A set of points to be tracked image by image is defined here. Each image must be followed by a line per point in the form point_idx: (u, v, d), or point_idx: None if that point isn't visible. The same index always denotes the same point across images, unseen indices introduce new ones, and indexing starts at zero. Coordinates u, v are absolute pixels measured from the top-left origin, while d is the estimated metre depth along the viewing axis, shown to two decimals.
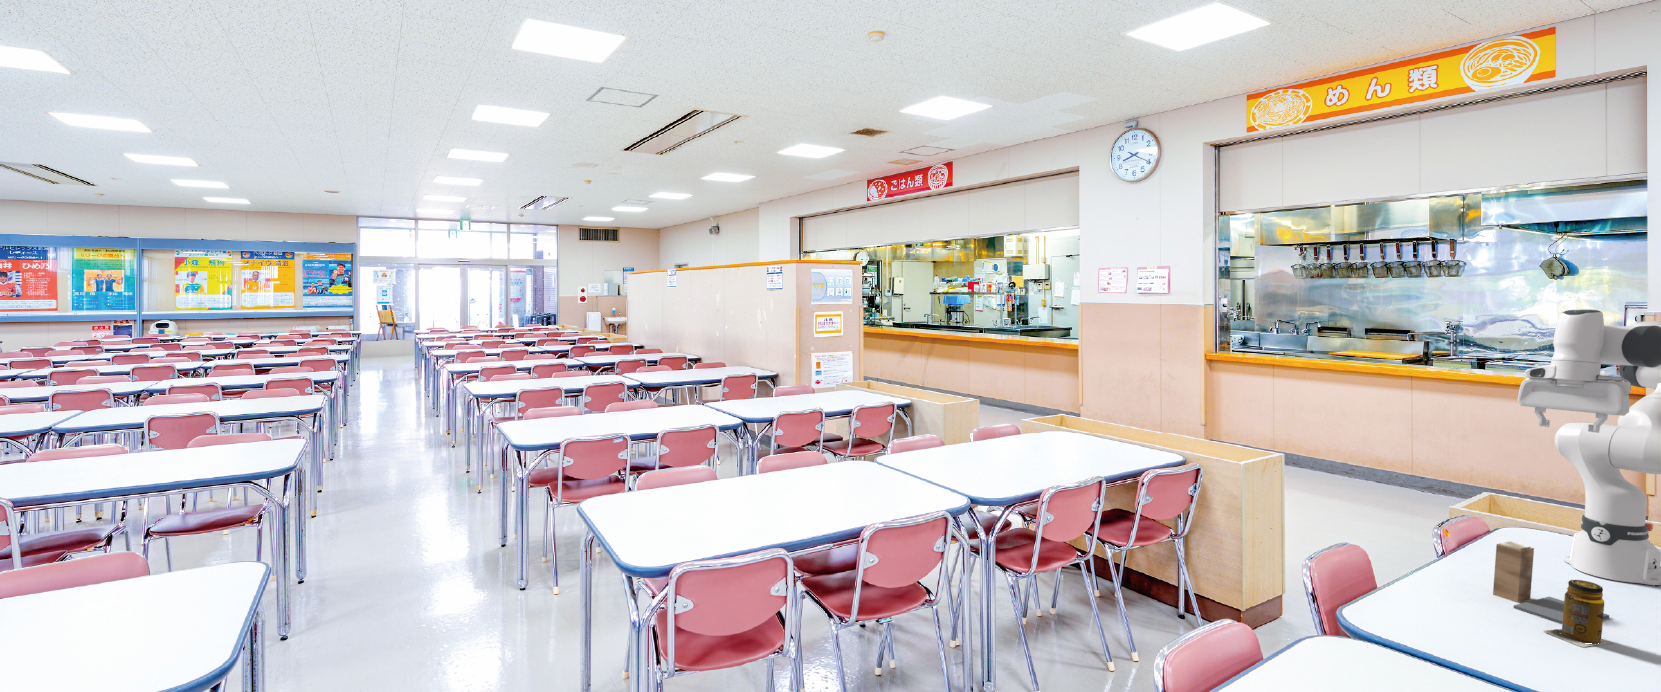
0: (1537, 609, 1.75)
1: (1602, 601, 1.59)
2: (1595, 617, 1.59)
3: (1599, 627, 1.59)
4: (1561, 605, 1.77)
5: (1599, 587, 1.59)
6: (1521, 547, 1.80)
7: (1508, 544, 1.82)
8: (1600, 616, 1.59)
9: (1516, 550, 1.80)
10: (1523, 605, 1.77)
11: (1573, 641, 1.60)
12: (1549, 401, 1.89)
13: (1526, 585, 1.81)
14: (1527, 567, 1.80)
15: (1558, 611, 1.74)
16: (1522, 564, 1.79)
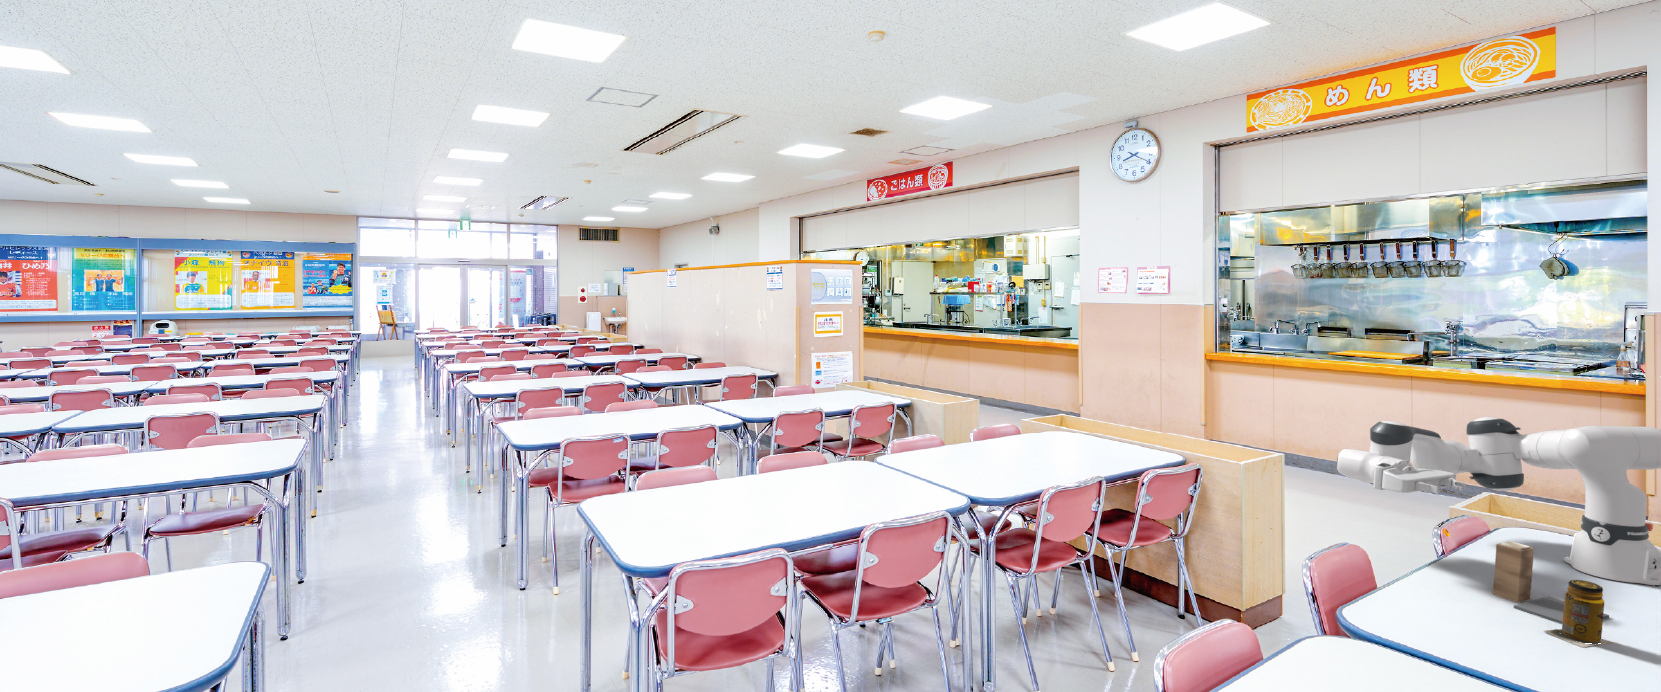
0: (1537, 609, 1.75)
1: (1602, 601, 1.59)
2: (1595, 617, 1.59)
3: (1599, 627, 1.59)
4: (1561, 605, 1.77)
5: (1599, 587, 1.59)
6: (1521, 547, 1.80)
7: (1508, 544, 1.82)
8: (1600, 616, 1.59)
9: (1516, 550, 1.80)
10: (1523, 605, 1.77)
11: (1573, 641, 1.60)
12: (1416, 476, 2.00)
13: (1526, 585, 1.81)
14: (1527, 567, 1.80)
15: (1558, 611, 1.74)
16: (1522, 564, 1.79)
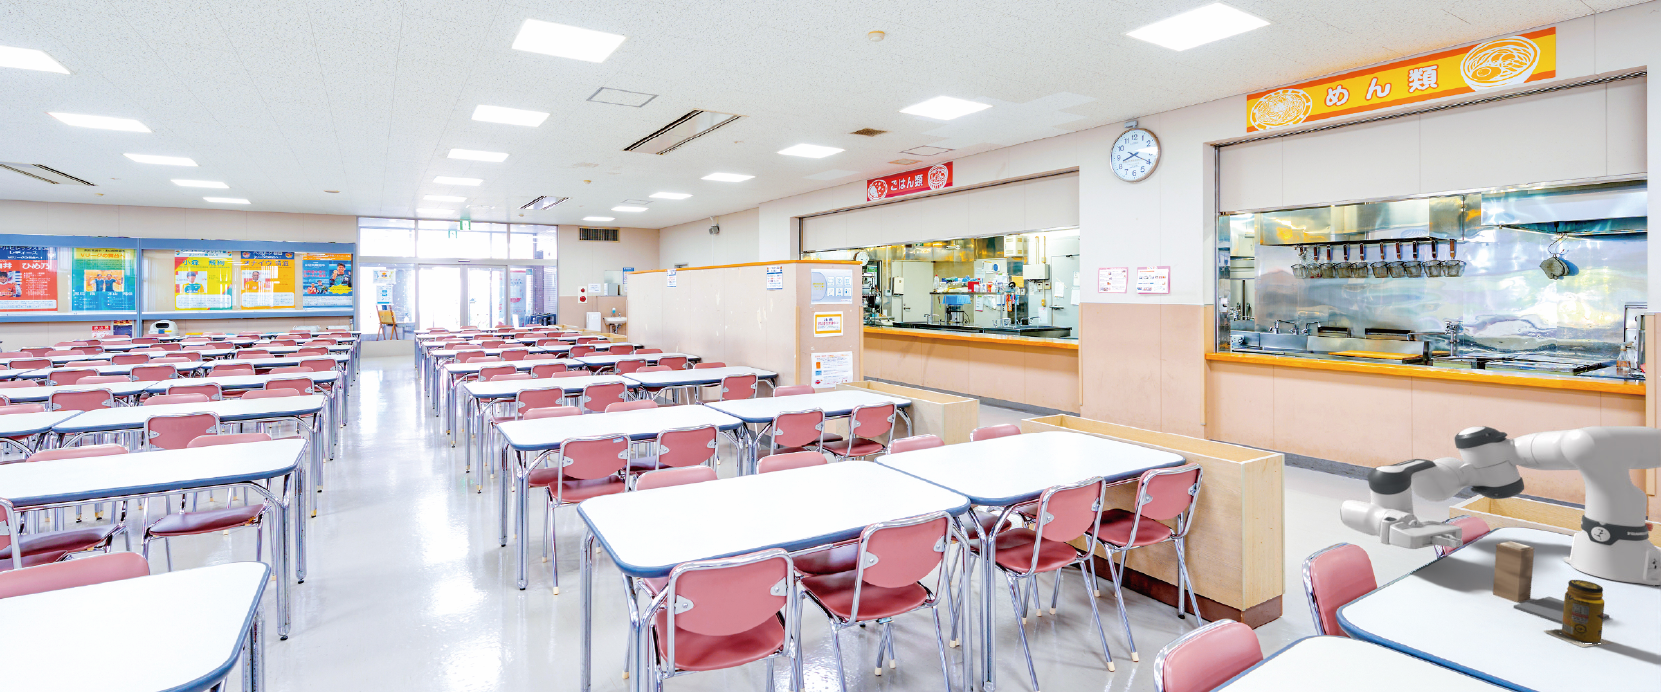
0: (1537, 609, 1.75)
1: (1602, 601, 1.59)
2: (1595, 617, 1.59)
3: (1599, 627, 1.59)
4: (1561, 605, 1.77)
5: (1599, 587, 1.59)
6: (1521, 547, 1.80)
7: (1508, 544, 1.82)
8: (1600, 616, 1.59)
9: (1516, 550, 1.80)
10: (1523, 605, 1.77)
11: (1573, 641, 1.60)
12: (1423, 531, 1.98)
13: (1526, 585, 1.81)
14: (1528, 567, 1.80)
15: (1558, 611, 1.74)
16: (1522, 564, 1.79)
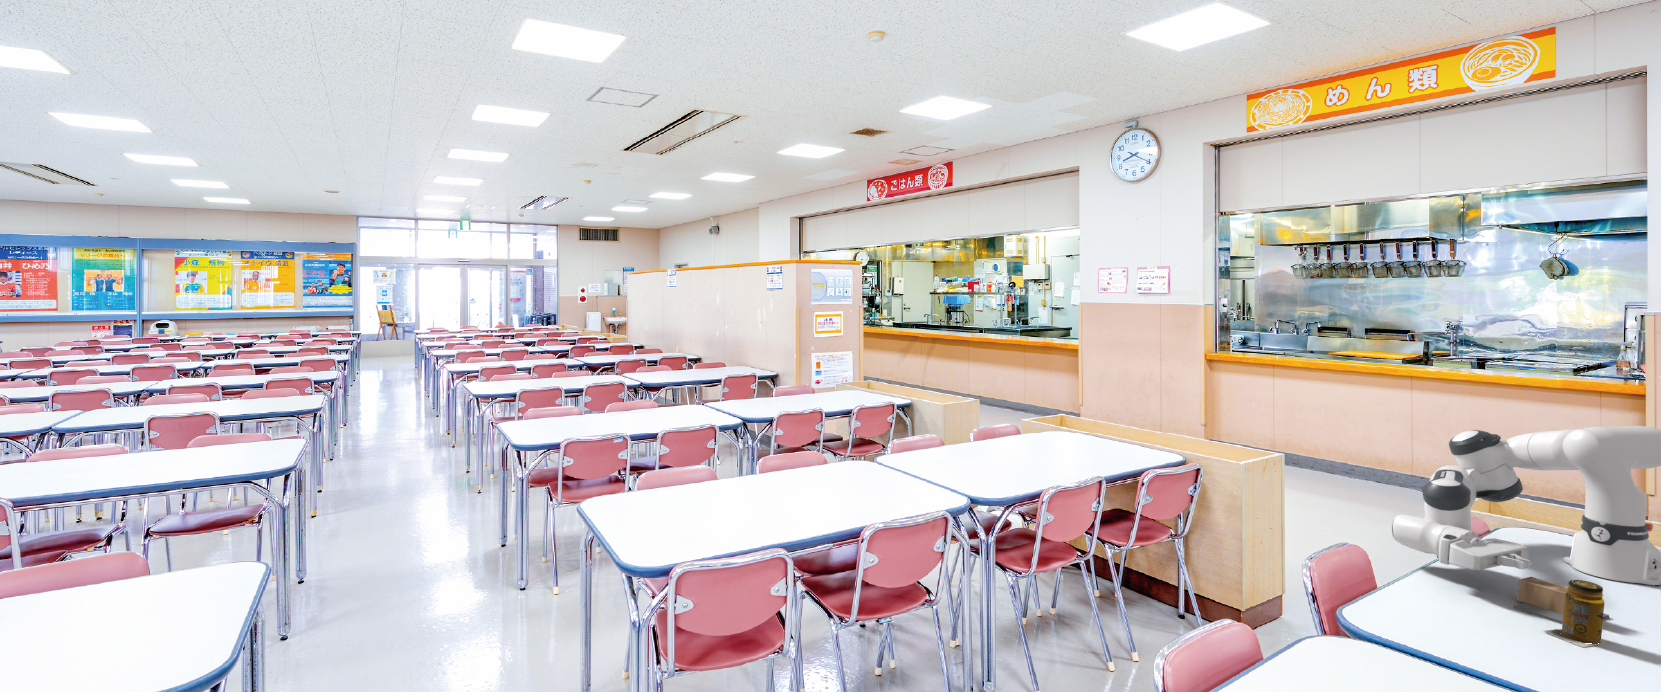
0: (1537, 609, 1.75)
1: (1602, 601, 1.59)
2: (1595, 617, 1.59)
3: (1599, 627, 1.59)
4: None
5: (1599, 587, 1.59)
6: None
7: None
8: (1600, 616, 1.59)
9: None
10: (1523, 605, 1.77)
11: (1573, 641, 1.60)
12: (1487, 550, 1.84)
13: None
14: None
15: None
16: None
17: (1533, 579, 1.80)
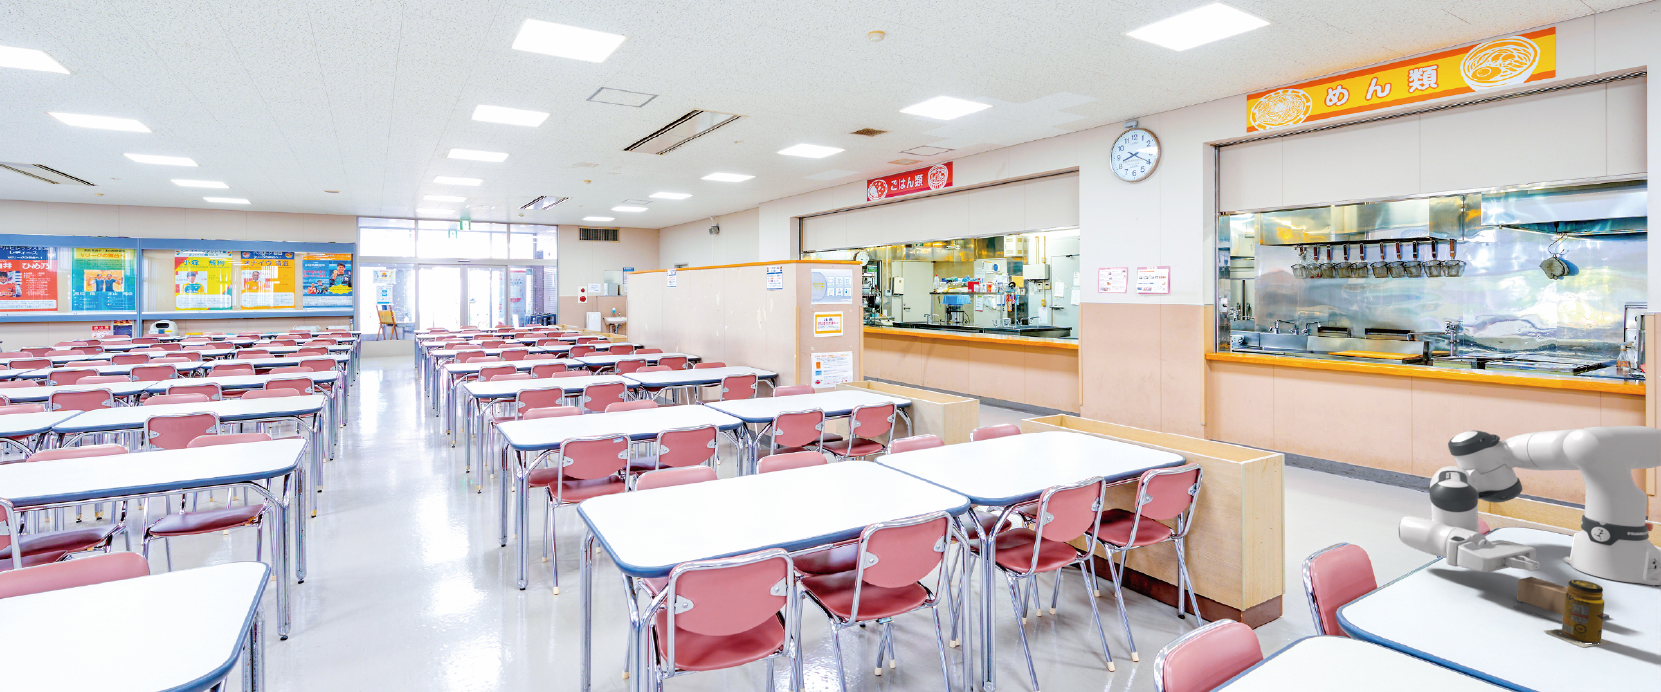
0: (1537, 609, 1.75)
1: (1602, 601, 1.59)
2: (1595, 617, 1.59)
3: (1599, 627, 1.59)
4: None
5: (1599, 587, 1.59)
6: None
7: None
8: (1600, 616, 1.59)
9: None
10: (1523, 605, 1.77)
11: (1573, 641, 1.60)
12: (1495, 552, 1.82)
13: None
14: None
15: None
16: None
17: (1533, 579, 1.80)
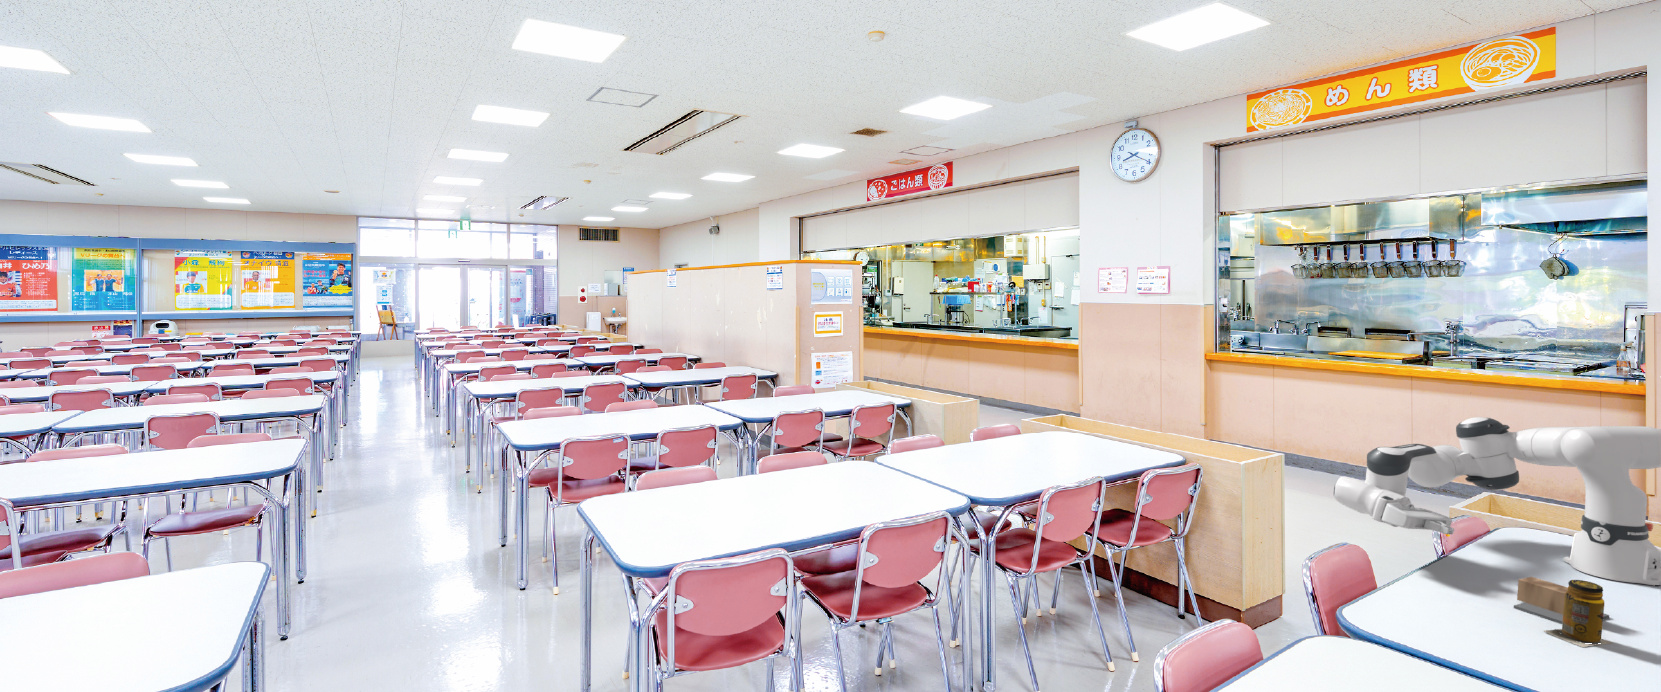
0: (1537, 609, 1.75)
1: (1602, 601, 1.59)
2: (1595, 617, 1.59)
3: (1599, 627, 1.59)
4: None
5: (1599, 587, 1.59)
6: None
7: None
8: (1600, 616, 1.59)
9: None
10: (1523, 605, 1.77)
11: (1573, 641, 1.60)
12: (1418, 514, 1.99)
13: None
14: None
15: None
16: None
17: (1533, 579, 1.80)
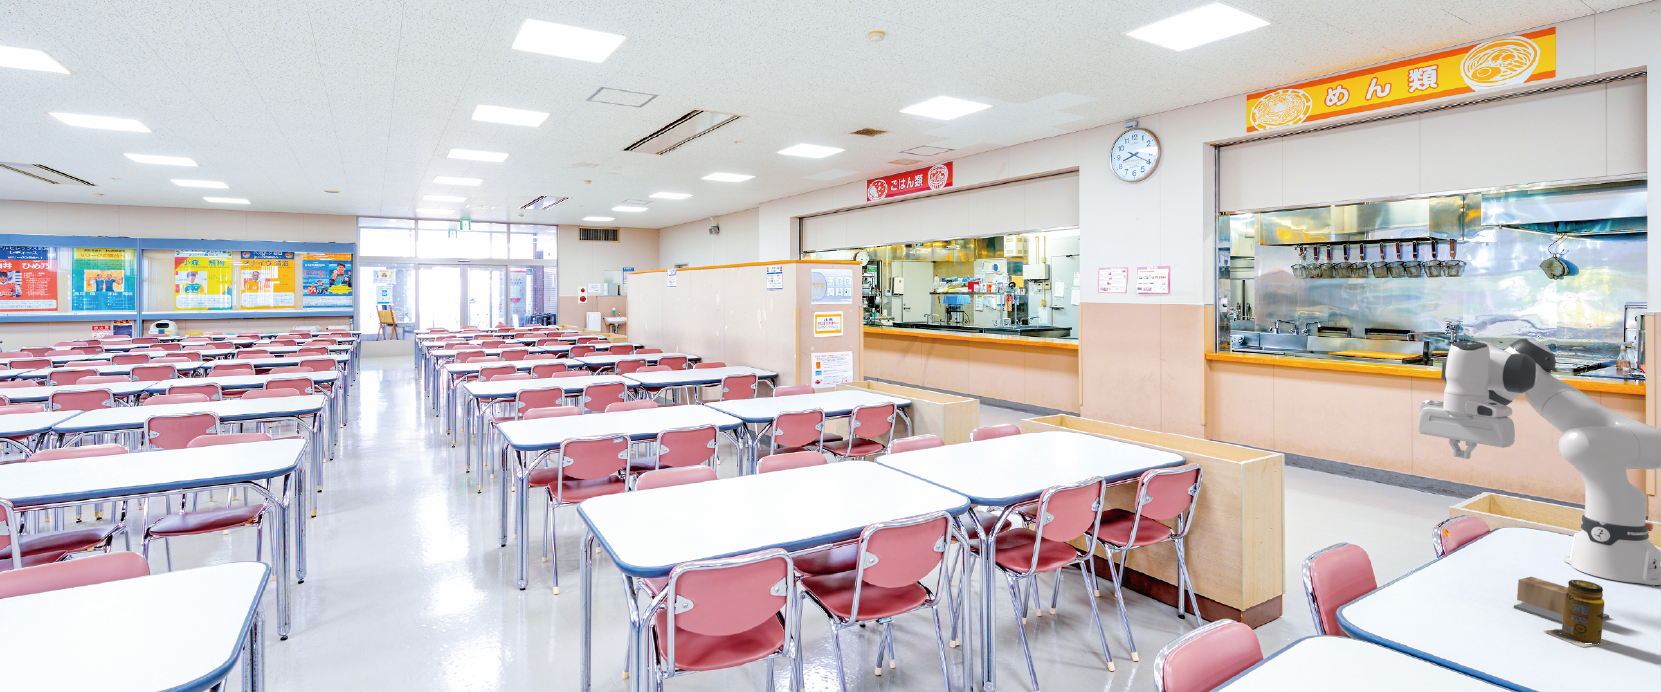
0: (1537, 609, 1.75)
1: (1602, 601, 1.59)
2: (1595, 617, 1.59)
3: (1599, 627, 1.59)
4: None
5: (1599, 587, 1.59)
6: None
7: None
8: (1600, 616, 1.59)
9: None
10: (1523, 605, 1.77)
11: (1573, 641, 1.60)
12: None
13: None
14: None
15: None
16: None
17: (1533, 579, 1.80)
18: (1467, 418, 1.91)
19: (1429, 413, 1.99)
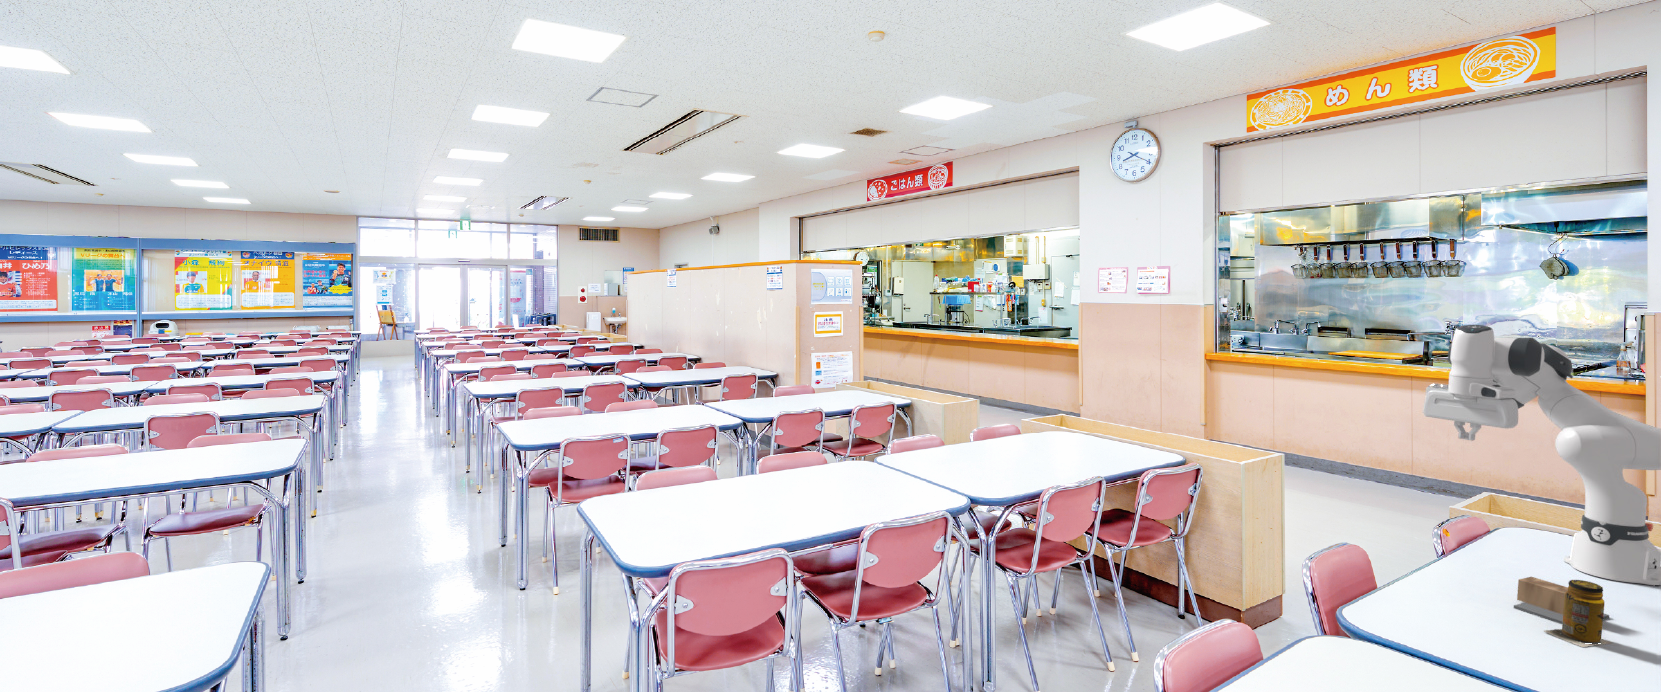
0: (1537, 609, 1.75)
1: (1602, 601, 1.59)
2: (1595, 617, 1.59)
3: (1599, 627, 1.59)
4: None
5: (1599, 587, 1.59)
6: None
7: None
8: (1600, 616, 1.59)
9: None
10: (1523, 605, 1.77)
11: (1573, 641, 1.60)
12: None
13: None
14: None
15: None
16: None
17: (1533, 579, 1.80)
18: (1471, 400, 1.94)
19: (1435, 396, 2.03)
